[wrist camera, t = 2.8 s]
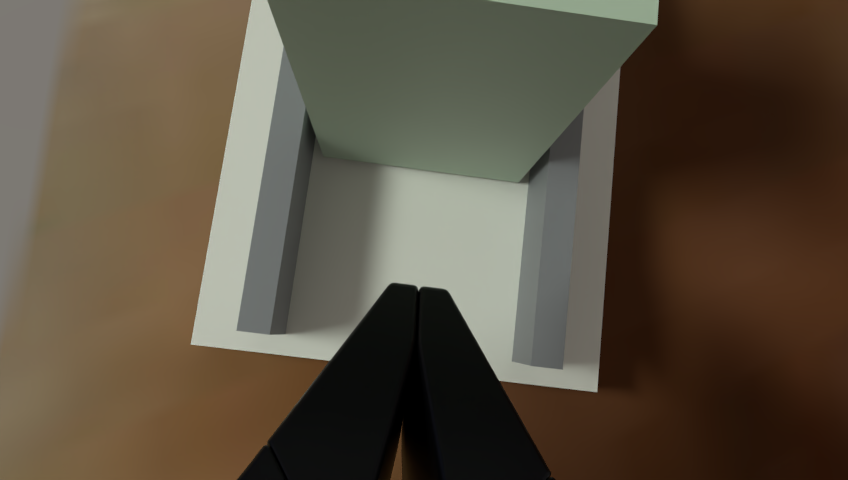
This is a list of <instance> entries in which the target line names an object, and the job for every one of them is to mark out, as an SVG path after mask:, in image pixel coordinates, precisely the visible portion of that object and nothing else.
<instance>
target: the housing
mask: <svg viewBox="0 0 848 480" xmlns="http://www.w3.org/2000/svg"><path fill="white" fill-rule="evenodd" d="M619 80H620V68H619V69H618V70H617V71H616V72H615V74H614V75H613V76H612V77H611V78H610V79H609V80H608V82H607V83H606V84H605V85H604V86H603V87H602V88H601V89H600V91H599V92H598V93H597V94H596V95H595V96H594V97H593V99H592V100H591V101H590V102H589V103H588V104H587V105H586V106H585V108H584V109H583V110H582V111H581V112H580V113H579V114H578V116H577V117H576V118H575V119H574V120H573V121H572V122H571V123H570V125H569V126H568V127H567V128H566V129H565V130H564V131H563V133H562V134H561V135H560V136H559V137H558V138H557V139H556V140H555V142H554V143H553V144H552V145H551V146H550V147H549V148H548V150H547V151H546V152H545V153H544V154H543V155H542V156H541V158H540V159H539V160H538V161H537V162H536V163H535V164H534V165H533V167H532V168H531V169H530V170H529V171H528V172H527V173H526V175H525V176H524V177H523V178H522V179H521V180H520V181H519V182H512V181H504V180H496V179H489V178H481V177H474V176H466V175H459V174H451V173H443V172H436V171H428V170H421V169H413V168H406V167H398V166H391V165H383V164H375V163H368V162H360V161H353V160H345V159H338V158H330V157H323V154H322V151H321V148H320V146H319V143H318V140H317V137H316V134H315V132H314V129H313V126H312V123H311V121H310V118H309V115H308V112H307V109H306V107H305V104H304V101H303V98H302V96H301V93H300V90H299V87H298V84H297V82H296V79H295V76H294V73H293V71H292V68H291V65H290V62H289V59H288V57H287V54H286V51H285V48H284V46H283V43H282V40H281V37H280V34H279V32H278V29H277V26H276V23H275V21H274V18H273V15H272V12H271V9H270V7H269V4H268V1H267V0H252V3H251V8H250V14H249V20H248V25H247V31H246V36H245V42H244V48H243V53H242V59H241V65H240V70H239V76H238V81H237V87H236V93H235V98H234V104H233V110H232V115H231V121H230V126H229V132H228V138H227V143H226V149H225V155H224V160H223V166H222V171H221V177H220V183H219V188H218V194H217V200H216V205H215V211H214V217H213V222H212V228H211V233H210V239H209V245H208V250H207V256H206V262H205V267H204V273H203V278H202V284H201V290H200V295H199V301H198V307H197V312H196V318H195V323H194V329H193V335H192V340H191V344H192V345H201V346H209V347H218V348H226V349H235V350H243V351H252V352H260V353H269V354H277V355H285V356H294V357H302V358H311V359H319V360H328V361H330V360H331V359H332V357H333V356H334V355H335V353H336V352H337V351H338V350H339V348H340V347H341V346H342V344H343V343H344V342H345V341H346V339H347V338H348V337H349V335H350V334H351V333H352V332H353V330H354V329H355V328H356V326H357V325H358V324H359V322H360V321H361V320H362V319H363V317H364V316H365V315H366V313H367V312H368V311H369V310H370V308H371V307H372V306H373V304H374V303H375V302H376V300H377V299H378V298H379V297H380V295H381V294H382V293H383V291H384V290H385V289H386V288H387V286H388V285H389V284H391V283H402V284H410V285H415V286H417V288H418V291H419V289H420V288H421V287H423V286H426V287H434V288H442V289H446V290H447V291H448V292H449V293H450V295H451V296H452V298H453V300H454V302H455V304H456V305H457V307H458V309H459V311H460V312H461V314H462V316H463V318H464V320H465V321H466V323H467V325H468V327H469V328H470V330H471V332H472V334H473V335H474V337H475V339H476V341H477V343H478V344H479V346H480V348H481V350H482V351H483V353H484V355H485V357H486V358H487V360H488V362H489V364H490V366H491V367H492V369H493V371H494V373H495V374H496V376H497V378H498V380H499V381H506V382H514V383H523V384H531V385H540V386H548V387H557V388H565V389H574V390H582V391H591V392H597V388H598V374H599V360H600V346H601V332H602V318H603V304H604V290H605V276H606V262H607V248H608V234H609V220H610V206H611V192H612V178H613V164H614V150H615V136H616V122H617V108H618V94H619Z"/></svg>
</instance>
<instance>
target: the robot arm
mask: <svg viewBox="0 0 848 480" xmlns="http://www.w3.org/2000/svg"><path fill="white" fill-rule="evenodd" d="M402 421H403V422H402ZM401 427H402V450H401V451H402V480H555V479H554V478H553V477H550V476H551V472H550V470H549V468H548V466H547V465H546V463H545V461H544V459H543V458H542V456H541V454H540V452H539V451H538V449H537V447H536V445H535V443H534V442H533V440H532V438H531V436H530V435H529V433H528V431H527V429H526V428H525V426H524V424H523V422H522V420H521V419H520V417H519V415H518V413H517V412H516V410H515V408H514V406H513V405H512V403H511V401H510V399H509V397H508V396H507V394H506V392H505V390H504V389H503V387H502V385H501V383H500V381H499V380H498V378H497V376H496V374H495V373H494V371H493V369H492V367H491V366H490V364H489V362H488V360H487V358H486V357H485V355H484V353H483V351H482V350H481V348H480V346H479V344H478V343H477V341H476V339H475V337H474V335H473V334H472V332H471V330H470V328H469V327H468V325H467V323H466V321H465V320H464V318H463V316H462V314H461V312H460V311H459V309H458V307H457V305H456V304H455V302H454V300H453V298H452V296H451V295H450V293H449V292H448V291H447V290H446V289H442V288H434V287H426V286H423V287H421V288H420V289H419V291H418V288H417V286H415V285H410V284H402V283H391V284H389V285H388V286H387V288H386V289H385V290H384V291H383V293H382V294H381V295H380V297H379V298H378V299H377V300H376V302H375V303H374V304H373V306H372V307H371V308H370V310H369V311H368V312H367V313H366V315H365V316H364V317H363V319H362V320H361V321H360V322H359V324H358V325H357V326H356V328H355V329H354V330H353V332H352V333H351V334H350V335H349V337H348V338H347V339H346V341H345V342H344V343H343V344H342V346H341V347H340V348H339V350H338V351H337V352H336V353H335V355H334V356H333V357H332V359H331V360H330V361H329V363H328V364H327V365H326V366H325V368H324V369H323V370H322V372H321V373H320V374H319V375H318V377H317V378H316V379H315V381H314V382H313V383H312V384H311V386H310V387H309V388H308V390H307V391H306V392H305V394H304V395H303V396H302V397H301V399H300V400H299V401H298V403H297V404H296V405H295V406H294V408H293V409H292V410H291V412H290V413H289V414H288V415H287V417H286V418H285V419H284V421H283V422H282V423H281V425H280V426H279V427H278V428H277V430H276V431H275V432H274V434H273V435H272V436H271V437H270V439H269V440H268V443H267V445H265V446H263V447H262V449H261V450H260V451H259V452H258V454H257V455H256V456H255V458H254V459H253V460H252V462H251V463H250V464H249V465H248V467H247V468H246V469H245V470H244V472H243V473H242V474H241V475H240V477H239V478H238V479H237V480H390V478H391V474H392V470H393V465H394V461H395V457H396V453H397V448H398V443H399V438H400V433H401Z"/></svg>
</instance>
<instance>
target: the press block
mask: <svg viewBox="0 0 848 480" xmlns="http://www.w3.org/2000/svg"><path fill="white" fill-rule="evenodd" d="M267 1H268V4H269V7H270V9H271V12H272V15H273V18H274V21H275V23H276V26H277V29H278V32H279V34H280V37H281V40H282V43H283V46H284V48H285V51H286V54H287V57H288V59H289V62H290V65H291V68H292V71H293V73H294V76H295V79H296V82H297V84H298V87H299V90H300V93H301V96H302V98H303V101H304V104H305V107H306V109H307V112H308V115H309V118H310V121H311V123H312V126H313V129H314V132H315V134H316V137H317V140H318V143H319V146H320V148H321V151H322V154H323V157H330V158H338V159H345V160H353V161H360V162H368V163H375V164H383V165H391V166H398V167H406V168H413V169H421V170H428V171H436V172H443V173H451V174H459V175H466V176H474V177H481V178H489V179H496V180H504V181H512V182H519V181H520V180H521V179H522V178H523V177H524V176H525V175H526V173H527V172H528V171H529V170H530V169H531V168H532V167H533V165H534V164H535V163H536V162H537V161H538V160H539V159H540V158H541V156H542V155H543V154H544V153H545V152H546V151H547V150H548V148H549V147H550V146H551V145H552V144H553V143H554V142H555V140H556V139H557V138H558V137H559V136H560V135H561V134H562V133H563V131H564V130H565V129H566V128H567V127H568V126H569V125H570V123H571V122H572V121H573V120H574V119H575V118H576V117H577V116H578V114H579V113H580V112H581V111H582V110H583V109H584V108H585V106H586V105H587V104H588V103H589V102H590V101H591V100H592V99H593V97H594V96H595V95H596V94H597V93H598V92H599V91H600V89H601V88H602V87H603V86H604V85H605V84H606V83H607V82H608V80H609V79H610V78H611V77H612V76H613V75H614V74H615V72H616V71H617V70H618V69H619V68H620V67H621V66H622V65H623V63H624V62H625V61H626V60H627V59H628V58H629V57H630V55H631V54H632V53H633V52H634V51H635V50H636V49H637V48H638V46H639V45H640V44H641V43H642V42H643V41H644V40H645V38H646V37H647V36H648V35H649V34H650V33H651V32H652V30H653V29H654V28H655V27H656V26H657V21H658V5H659V0H267Z"/></svg>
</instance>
